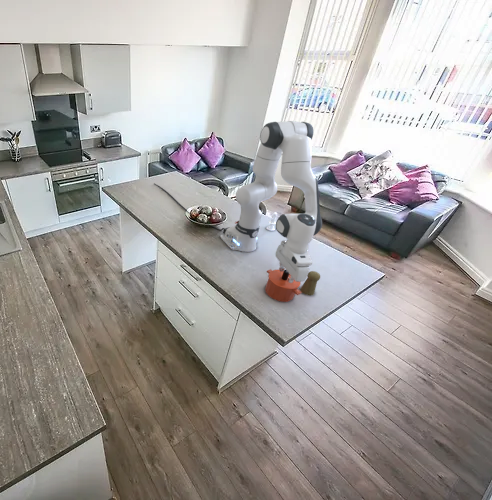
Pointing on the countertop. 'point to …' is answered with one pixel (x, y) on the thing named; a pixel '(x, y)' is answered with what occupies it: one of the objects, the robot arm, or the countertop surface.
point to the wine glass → (272, 222)
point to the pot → (280, 291)
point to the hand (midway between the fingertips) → (285, 276)
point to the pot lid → (282, 279)
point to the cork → (310, 283)
